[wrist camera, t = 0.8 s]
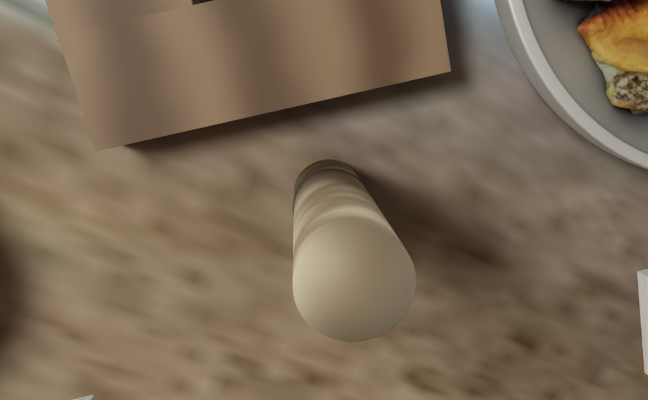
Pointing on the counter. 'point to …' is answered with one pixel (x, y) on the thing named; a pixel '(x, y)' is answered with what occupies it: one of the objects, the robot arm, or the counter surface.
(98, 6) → the board
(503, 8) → the bowl
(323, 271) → the peg
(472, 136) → the counter surface
